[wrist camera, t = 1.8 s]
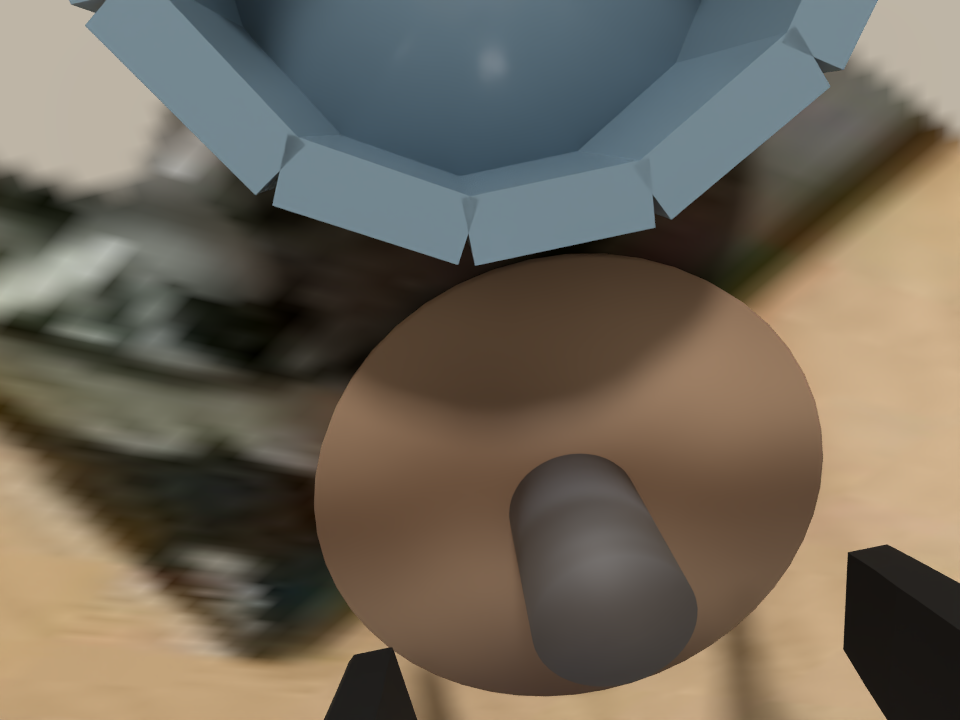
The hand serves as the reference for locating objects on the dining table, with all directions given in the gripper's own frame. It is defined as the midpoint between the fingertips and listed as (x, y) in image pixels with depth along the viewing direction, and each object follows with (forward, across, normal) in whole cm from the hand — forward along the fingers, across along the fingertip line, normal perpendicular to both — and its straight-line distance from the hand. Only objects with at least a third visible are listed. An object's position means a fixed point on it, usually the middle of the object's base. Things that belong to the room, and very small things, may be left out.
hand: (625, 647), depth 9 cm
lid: (+5, 0, 0) cm, 5 cm away
